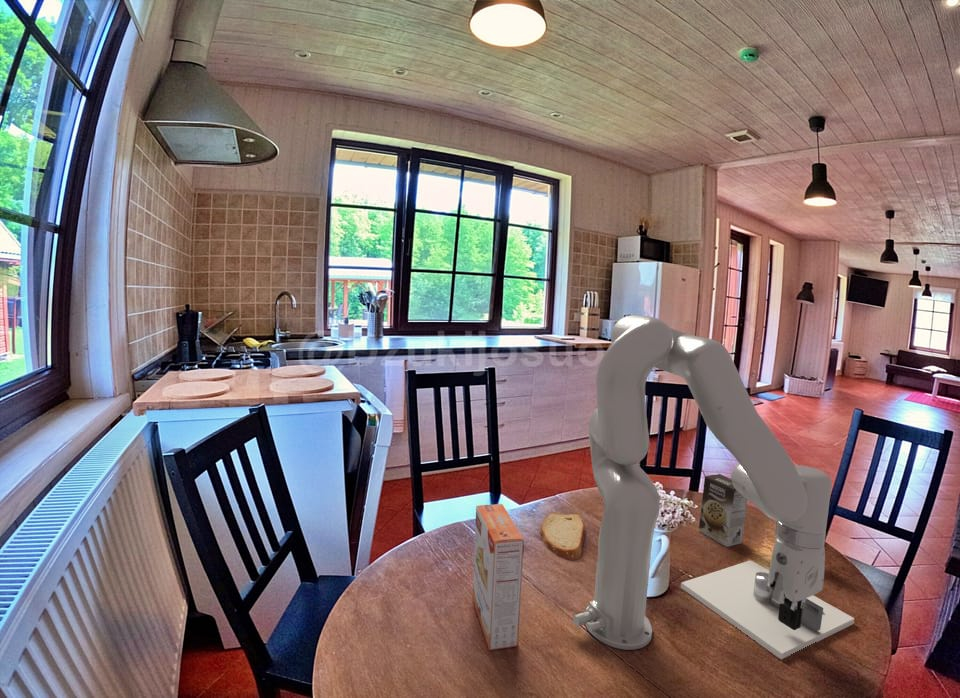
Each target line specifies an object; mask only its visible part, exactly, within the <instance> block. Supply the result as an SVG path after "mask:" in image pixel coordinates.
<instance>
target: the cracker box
mask: <svg viewBox="0 0 960 698" xmlns="http://www.w3.org/2000/svg"><path fill="white" fill-rule="evenodd" d="M475 511H476V512H475V528H474V530H475V533H474V550H473V551H474V552H473V553H474V554H473V578H472V602H473V605H474V608H475V612H476V614H477V616H478V617H477V618H478V620H479V623H480V626H481V630H482V633H483V636H484V639H485V641H486V642H485V643H486V646H487V649H488V651H494V650H501V649H502V650H503V649H508V648H516V647H519V638H520V624H521V623H520V621H521V620H520V619H521V604H522V603H521V601H522V585H523V568H524V554H525V553H524V552H525V551H524V550H525V539H524V537H523V536H522V534H521V532H520V530H519V529H518V527H517V526H516V524H515V523H514V521H513V519H512V518H511V516H510V514H509V512H508V511H507V509H506V507H505V506H504V504H503V503H498V504H497V503H496V504H495V503H494V504H482V505H476V507H475Z"/></svg>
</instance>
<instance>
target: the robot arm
mask: <svg viewBox="0 0 960 698" xmlns="http://www.w3.org/2000/svg"><path fill="white" fill-rule="evenodd" d="M610 339H611V345H609V347H608V348H607V350H606V351H605V353H604V354H603V356H602V358H601V360H600V362H599V364H598V365H599V366H598V367H597V373H596V379H595V380H596V381H595V383H596V384H595V387H596V408H595V409H594V411H593V412H592V413H591V415H590V418H589V422H588V437H589V439H588V440H589V447H590V457H591V467H592V474H593V480H594V483H595V485H596V488H597V489H598V492H599V493H600V495H601V496H600V497H601V498H602V500H603V505H604V507H603V513H602V514H603V515H602V517H601V518H602V519H601V523H600V527H599V533H598V544H597V547H598V548H597V560H596V561H597V562H596V570H595V571H596V573H595V584H594V585H595V586H594V593H593V594H594V595H593V596H594V597H593V600H591V601H590V602H589V605H588V606H587V607H586V609H585V610H584V612H580V613H577V614H574V615H573V616H572V621H573V624H574V626H575V627H581V626H584V625H585V627H586V629H587V630H588V632H589V633H590V634H591V635H592V636H593V637H594V638H595V639H597V641H600V642H601V643H603V644H605V645H607V646H609V647H612V648H614V649H615V648H616V649H619V650H623V651H624V650H627V651H628V650H629V651H631V650H632V651H633V650H638V649H639V650H640V649H642V648H645V647H646V646H647V645H649V643H650V642H651V640H652V637H653V627H652V623H651V621H650V620H649V618H648V617H647V616H646V607H647V598H648V590H649V589H648V586H649V578H650V570H651V569H650V568H651V559H652V558H651V555H652V554H651V553H652V547H653V546H652V545H653V537H654V533H655V532H654V531H655V529H656V525H657V520H658V517H659V514H660V508H661V507H660V506H661V501H660V500H661V499H660V496H659V492H658V489H657V488H656V486H655V484H654V482H653V480H652V479H651V478H650V476H649V475H648V474H647V473H646V472H645V471H644V469H643V468H641V466H640V462H641V461H642V460H644V458H645V457H646V455H647V453H648V451H649V447H650V434H649V427H648V425H649V424H648V417H647V405H646V383H647V380H648V377H649V375H650V373H651V372H652V370H654V368H655V369H658V370H661V371H664V372H667V373H669V374H673V375H676V376H678V377H680V378H683V379H684V380H685V382H686V384H687V386H688V388H689V390H690V393H691V394H692V397H693V399H694V402H695V403H696V405H697V407H698V409H699V412H700V415H701V416H702V418H703V420H704V422H705V425H706V426H707V428H708V430H710V432H711V433H712V435H713V436H714V437H715V438H716V439H717V440H718V441H719V443H720V444H721V445H722V446H724V448H725V449H726V450H728V452H730V453H731V455H732V456H733V457H734V458H735V460H736V461H737V462H738V464H736V465H735V466H734V468H733V469H732V471H731V474H730V479H731V481H732V484H733V486H734V488H735V489H736V490H737V491H738V492H739V493H740V494H741V495H742V496H743V497H744V498H745V499H747V502H749V503H750V504H751V505H753V506H755V508H756V509H758V510H759V511H760V512H762V513H763V514H764V515H765V516H766V517H768V518H769V519H771V520H774V521H775V522H776V523H775V533H774V536H775V543H774V545H773V548H772V549H773V550H772V554H771V559H770V564H769V569H768V570H769V578H768V585H769V588H770V589H772V590H774V592H773V596H772V600H774V601H775V602H777V603H779V604H780V607H779V615H778V620H779V621H780V622H782V623H783V624H785V625H786V626H788V627H789V628H791V629H793V630H796V629H798V628H800V627H801V619H802V610H803V609H802V608H803V607H804V605H805V601H806V598H808V597H810V596H812V595H814V596H815V595H816V594H818V593H820V592H821V591H822V590H823V589H824V581H825V580H824V579H825V566H826V551H825V541H826V534H827V531H826V530H827V526H828V525H827V524H828V516H829V509H830V507H829V506H830V503H831V502H830V501H831V492H832V479H831V477H830V475H829V474H827V473H826V472H825V471H823V470H820V469H818V468H816V467H812V466H807V465H800V464H799V465H798V464H797V465H796V464H794V462H793V460H792V459H791V457H790V455H789V453H788V452H787V451H786V449H785V448H784V446H783V445H782V444H781V442H780V441H779V440H778V438H777V437H776V436H775V434H774V433H773V432H772V430H771V429H770V428H769V426H768V425H767V423H766V422H765V420H764V419H763V418H762V417H761V416H760V414H759V413H758V411H757V410H756V408H755V405H754V402H753V401H752V399H751V397H750V394H749V392H748V391H747V389H746V386H745V383H744V382H743V380H742V378H741V375H740V373H739V371H738V369H737V367H736V365H735V362H734V360H733V358H732V356H731V354H730V351H728V349H727V348H726V347H725V346H724V345H723V344H722V343H720V342H719V341H718V340H714V339H712V338H709V337H703V336H698V335H693V334H689V333H686V332H683V331H680V330H676V329H673V328H671V327H670V326H669V325H668V324H667V323H666V322H665V321H664V320H661V319H659V318H657V317H653V316H646V315H645V316H644V315H637V314H635V315H634V314H633V315H632V314H631V315H626V316H624V317H622V318H620V319H618V321H617V322H616V323H615V324H614V326H613V327H612V330H611V333H610ZM800 607H801V608H800Z"/></svg>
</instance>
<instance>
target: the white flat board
mask: <svg viewBox="0 0 960 698" xmlns="http://www.w3.org/2000/svg"><path fill="white" fill-rule="evenodd" d="M757 572H764V573H768V574H769V569H767V568H765V567H764V566H761V565H760V564H758V563H756V562H755V561H753V560H747V561H744V562H741V563H738V564H734V565H731V566H728V567H726V568H721V569H720V570H717V571H713V572H709V573H707V574H704V575H701V576H700V575H699V576H697V577H695V578H691V579H688V580H684V581H682V582H681V583H680V589H682V590H683V591H684V592H686V593H687V594H689V595H690V596H691V597H693V598H694V599H696V600H697V601H699V602H700V603H701V604H703V605H704V606H705V607H706V608H708V609H710V611H712V612H714V613H715V614H716V615H718V616H719V617H721V618H722V619H724V620H726V622H728V623H729V624H731V625H732V626H733V625H734V627H735V628H736V627H737V628H736V629H737V630H739V631H740V630H741V632H742V633H743V634H744V635H746V636H747V635H748V636H747V637H749V638H750V639H752V640H753V641H754V640H755V641H754V642H755V643H758V645H760V646H762V647H763V648H764V649H766V650H767V651H769V652H770V653H771V654H772V655H774V656H775V657H777V658H778V659H780V660H783V659H785V658H788V657H790V656H791V654H792V655H794V654H796V653H797V651H798V652H799V650H800V651H802V650H804V649H806V648H808V647H809V645H810V646H812V645H814V644H815V642H816V643H818V642H820V641H822V640H824V639H825V638H826V639H827V638H829V637H831V636H832V635H834V634H836V633H838V632H840V631H843V630H844V629H847V628H848V627H850V626H853V625H854V623H855V619H856V618H854V617H853V616H851V615H849V614H847V613H846V612H844V611H842V610H840V609H839V608H837V607H835V606H834V605H831V604H829V603H827V602H825V601H824V600H822V599H820V598H819V597H817V596H815V594H814V595H812V596H810V597H808V598H807V599H808V600H810V601H812V602H814V603H815V604H817V605H819V606H821V607H822V608H823V614H822V621H821V628H820V630H819V631H816V632H815V631H813V630H812V629H810V628H809V627H807V626H805V625H804V624H802V623H801V627H800V628H798V629H796V630H793V629H791V628H789V627H788V626H786V625H785V624H783V623H782V622H780V621H779V620H778V615H779V609H778V608H777V607H775V606H773V605H772V604H767V603H764V602H761V601H759V600H758V599H756V598H755V597H754V595H753V592H754V584H755V576H756V573H757ZM813 643H814V644H813ZM811 644H812V645H811ZM807 646H808V647H807ZM805 647H806V648H805ZM803 648H804V649H803ZM801 649H802V650H801ZM795 652H796V653H795ZM793 653H794V654H793Z"/></svg>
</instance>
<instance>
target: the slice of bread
mask: <svg viewBox="0 0 960 698" xmlns="http://www.w3.org/2000/svg"><path fill="white" fill-rule="evenodd" d="M583 520H584V519H583V518H582V516H581V515H580V514H576V513H575V514H574V513H570V514H568V513H567V514H561V513H557V512H550V513H549V514H547V515H546V516H545V518H544V519H543V521H542V523H541V527H540V535H541V539H542V542H543V544H544V545H545V547H546V548H547V549H548V550H550V551H551V552H552V553H553V554H555V555H557V556H559V557H561V558H563V559H567V560H573V561H574V560H578V559H580V556H581V555H582V552H583V548H584V542H585V541H584V540H585V533H586V532H585V531H586V528H585V524H584V521H583Z"/></svg>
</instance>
